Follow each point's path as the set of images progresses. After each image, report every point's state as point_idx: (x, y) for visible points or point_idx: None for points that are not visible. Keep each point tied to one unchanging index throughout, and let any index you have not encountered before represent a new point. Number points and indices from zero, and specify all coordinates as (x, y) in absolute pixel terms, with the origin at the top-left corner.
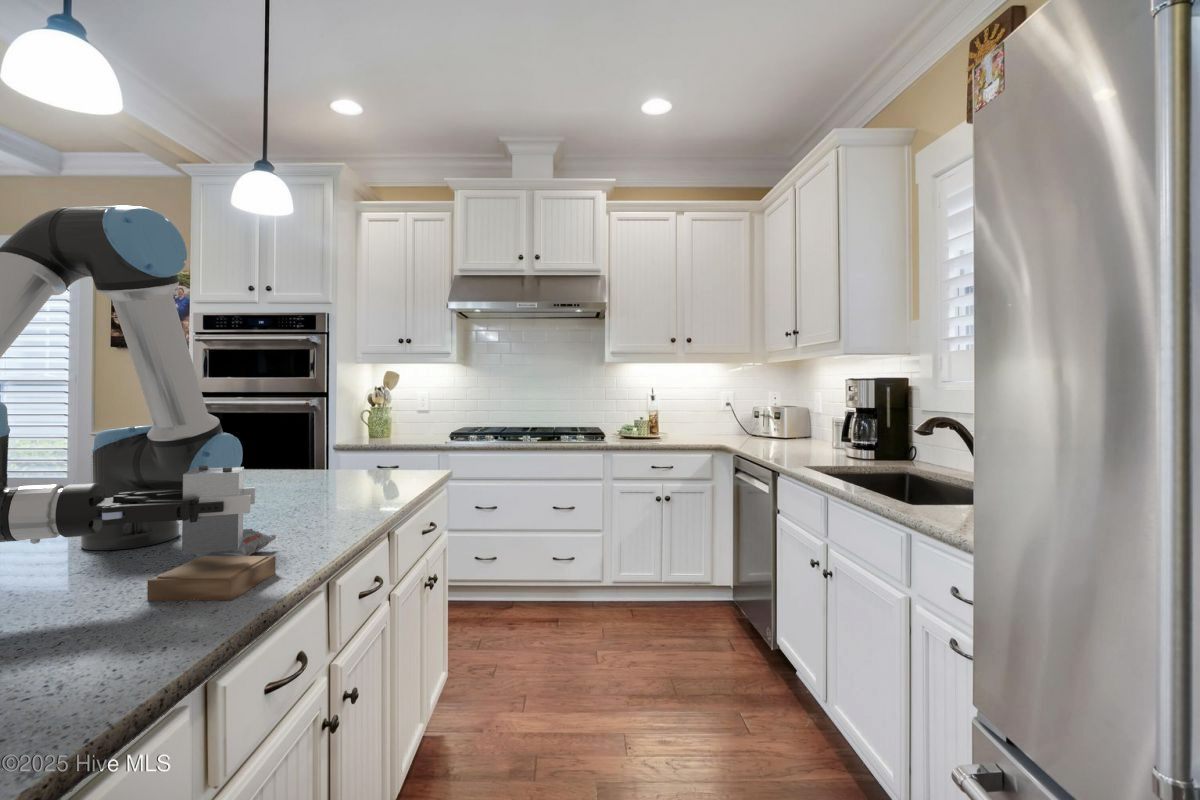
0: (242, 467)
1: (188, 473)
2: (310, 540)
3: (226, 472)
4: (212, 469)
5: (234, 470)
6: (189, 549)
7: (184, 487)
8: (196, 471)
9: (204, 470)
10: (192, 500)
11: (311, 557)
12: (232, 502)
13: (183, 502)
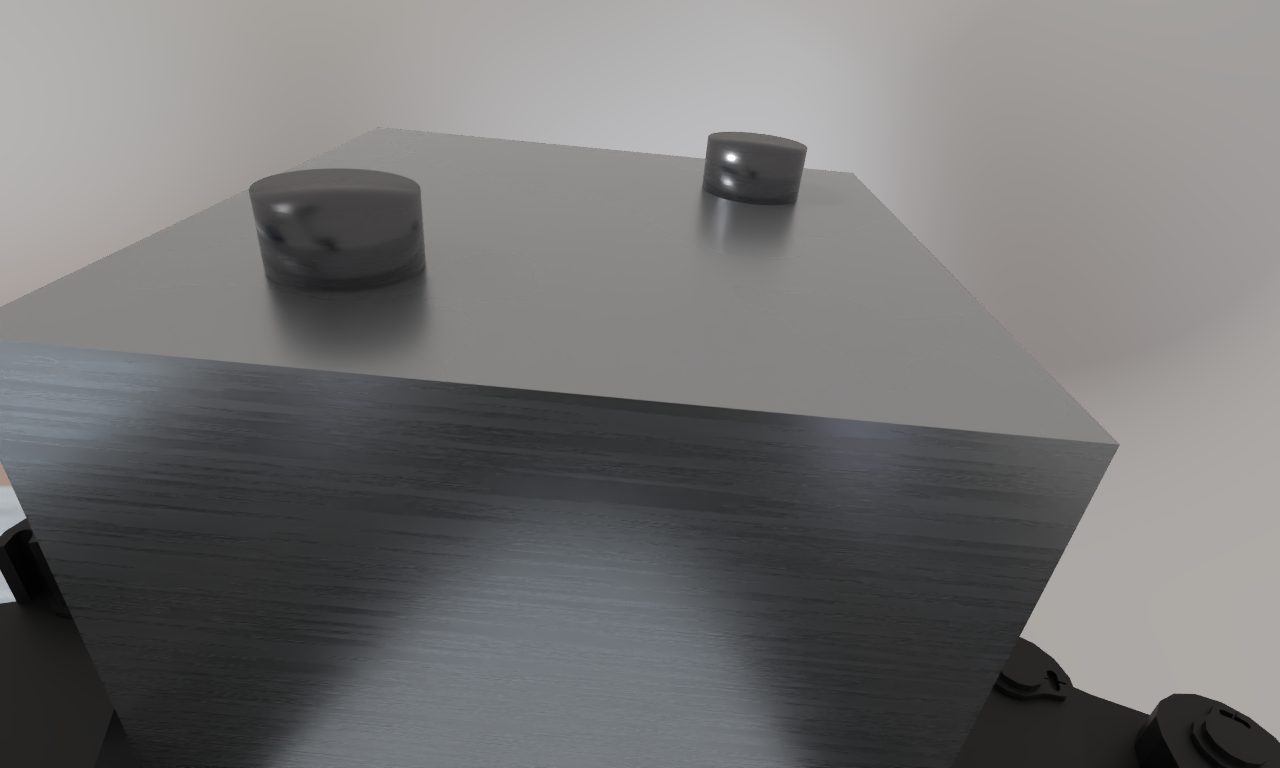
0: (423, 133)
1: (921, 387)
2: (11, 512)
3: (840, 200)
4: (424, 221)
5: (677, 168)
6: None
7: (1004, 638)
8: (604, 316)
9: (508, 262)
10: (1056, 667)
11: None
12: None
13: (1268, 752)
